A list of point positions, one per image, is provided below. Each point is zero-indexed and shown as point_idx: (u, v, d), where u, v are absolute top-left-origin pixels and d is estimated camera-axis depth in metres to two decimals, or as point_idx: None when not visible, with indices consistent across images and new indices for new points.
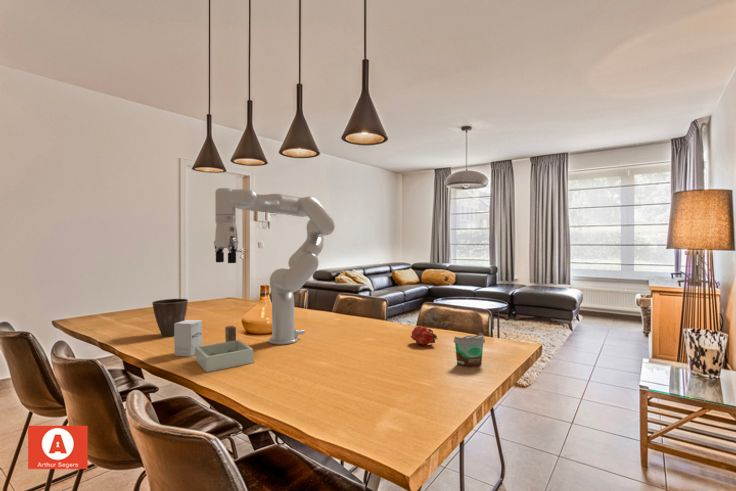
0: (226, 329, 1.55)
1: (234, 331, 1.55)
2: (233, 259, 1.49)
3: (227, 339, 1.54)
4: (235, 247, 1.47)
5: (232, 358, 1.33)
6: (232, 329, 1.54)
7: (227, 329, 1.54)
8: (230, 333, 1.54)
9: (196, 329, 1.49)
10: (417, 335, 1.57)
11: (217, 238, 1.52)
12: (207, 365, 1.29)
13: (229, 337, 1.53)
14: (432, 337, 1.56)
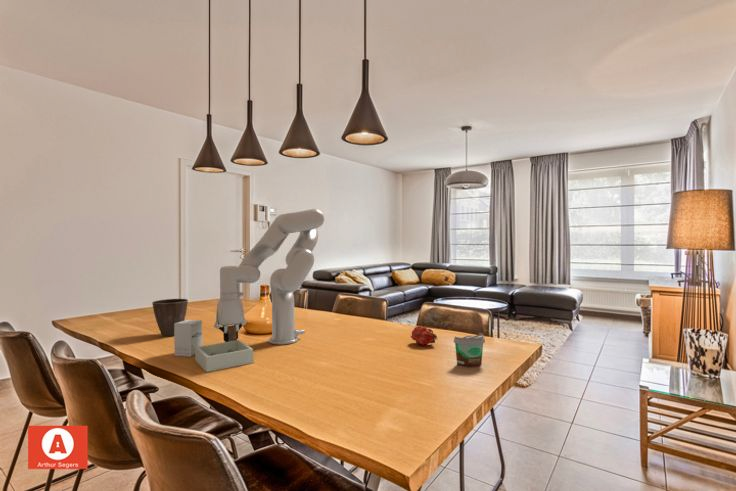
0: None
1: (234, 330, 1.55)
2: None
3: None
4: None
5: (232, 358, 1.33)
6: (232, 328, 1.54)
7: (227, 328, 1.54)
8: (230, 332, 1.54)
9: (196, 329, 1.49)
10: (417, 335, 1.57)
11: (225, 316, 1.52)
12: (207, 365, 1.29)
13: (229, 336, 1.54)
14: (432, 337, 1.56)
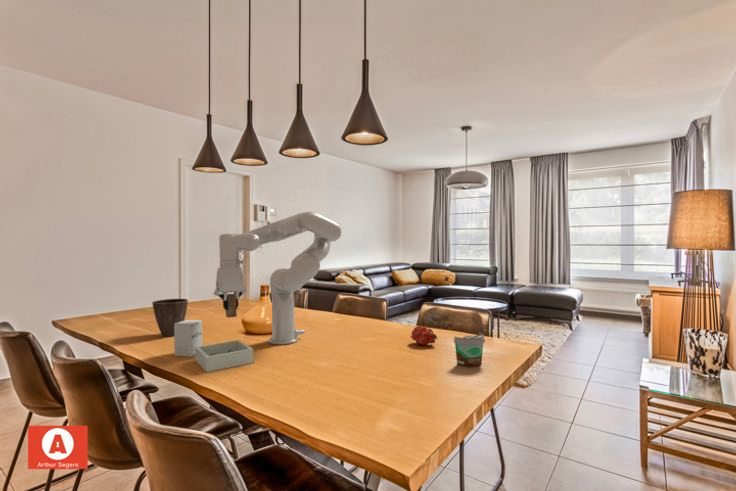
0: None
1: (234, 298, 1.55)
2: None
3: None
4: None
5: (232, 358, 1.33)
6: (232, 296, 1.54)
7: (227, 296, 1.54)
8: (230, 300, 1.54)
9: (196, 329, 1.49)
10: (417, 335, 1.57)
11: (225, 283, 1.52)
12: (207, 365, 1.29)
13: (229, 304, 1.53)
14: (432, 337, 1.56)
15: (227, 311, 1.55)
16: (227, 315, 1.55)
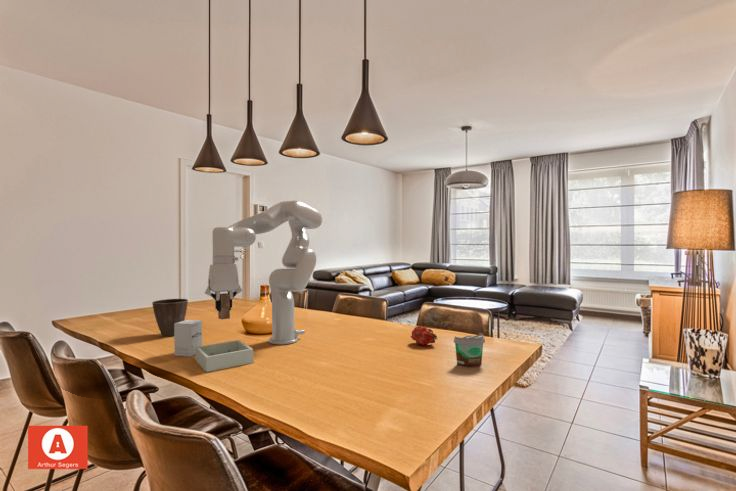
0: None
1: (227, 298, 1.41)
2: None
3: None
4: None
5: (232, 358, 1.33)
6: (225, 296, 1.40)
7: (220, 296, 1.40)
8: (223, 300, 1.40)
9: (196, 329, 1.49)
10: (417, 335, 1.57)
11: (218, 281, 1.38)
12: (207, 365, 1.29)
13: (222, 304, 1.39)
14: (432, 337, 1.56)
15: (219, 312, 1.40)
16: (219, 317, 1.41)
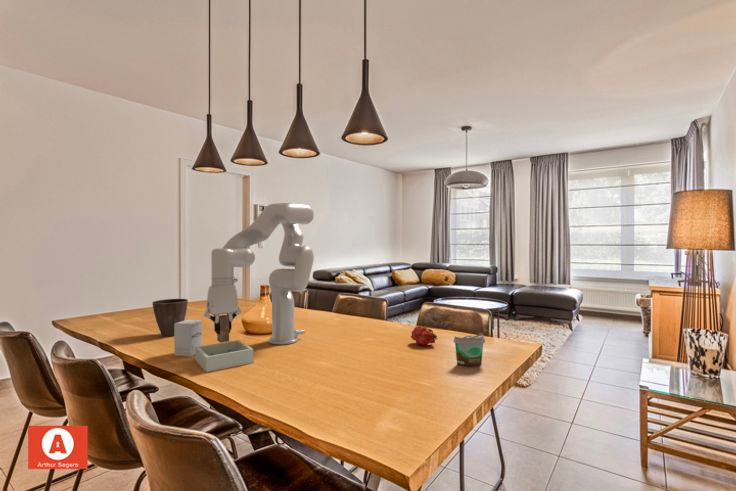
0: None
1: (227, 320, 1.38)
2: None
3: None
4: None
5: (232, 358, 1.33)
6: (224, 318, 1.38)
7: (219, 318, 1.38)
8: (222, 322, 1.37)
9: (196, 329, 1.49)
10: (417, 335, 1.57)
11: (217, 303, 1.36)
12: (207, 365, 1.29)
13: (221, 327, 1.37)
14: (432, 337, 1.56)
15: (219, 335, 1.38)
16: (218, 339, 1.38)
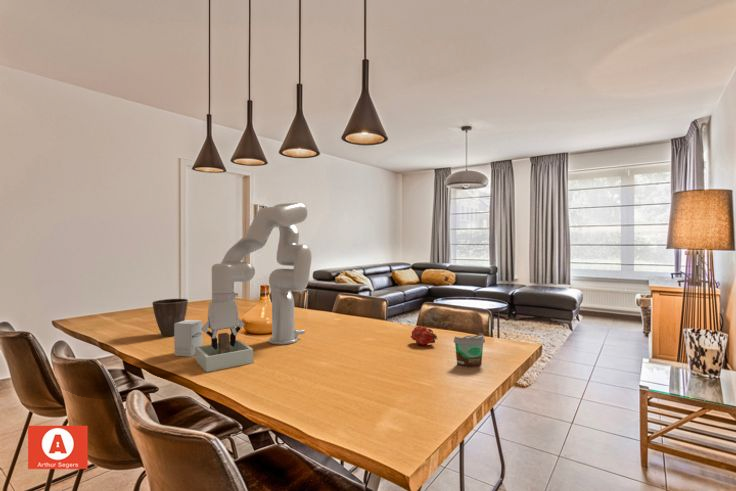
0: (219, 336, 1.39)
1: (227, 339, 1.38)
2: None
3: (220, 348, 1.38)
4: None
5: (232, 358, 1.33)
6: (225, 336, 1.38)
7: (220, 336, 1.38)
8: (223, 341, 1.37)
9: (196, 329, 1.49)
10: (417, 335, 1.57)
11: (218, 319, 1.36)
12: (207, 365, 1.29)
13: (222, 345, 1.37)
14: (432, 337, 1.56)
15: (219, 353, 1.38)
16: None
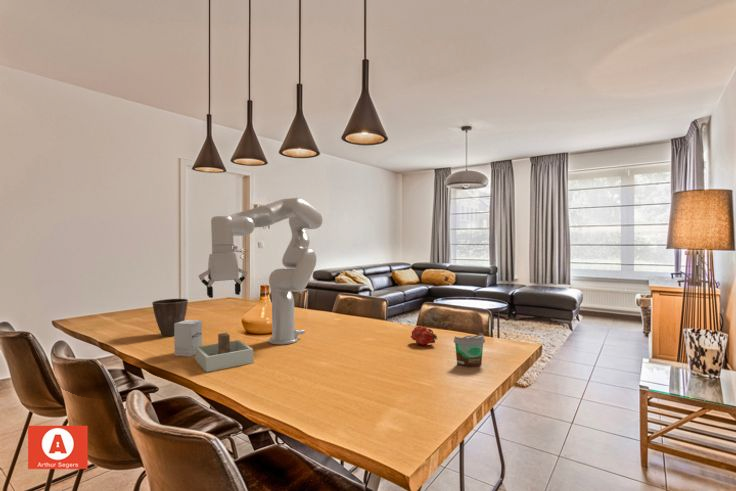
0: (219, 337, 1.39)
1: (227, 339, 1.38)
2: None
3: (220, 348, 1.38)
4: None
5: (232, 358, 1.33)
6: (225, 337, 1.38)
7: (220, 337, 1.38)
8: (223, 341, 1.37)
9: (196, 329, 1.49)
10: (417, 335, 1.57)
11: (218, 270, 1.38)
12: (207, 365, 1.29)
13: (222, 346, 1.37)
14: (432, 337, 1.56)
15: (219, 353, 1.38)
16: None
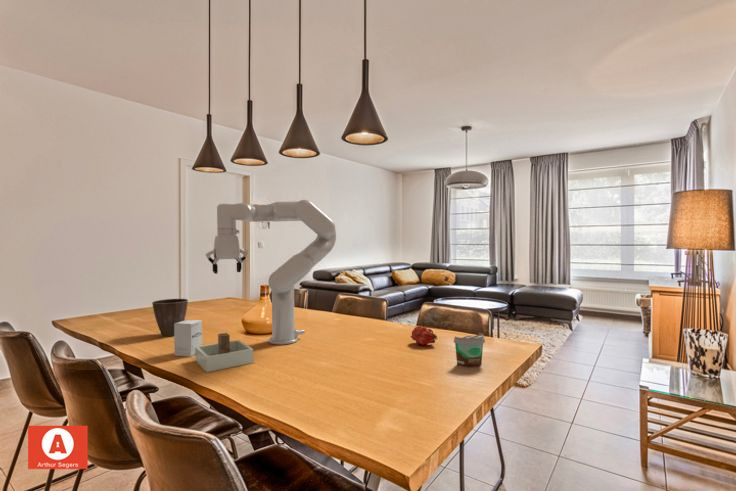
0: (219, 337, 1.39)
1: (227, 339, 1.38)
2: None
3: (220, 348, 1.38)
4: None
5: (232, 358, 1.33)
6: (225, 337, 1.38)
7: (220, 337, 1.38)
8: (223, 341, 1.37)
9: (196, 329, 1.49)
10: (417, 335, 1.57)
11: (222, 250, 1.61)
12: (207, 365, 1.29)
13: (222, 346, 1.37)
14: (432, 337, 1.56)
15: (219, 353, 1.38)
16: None
